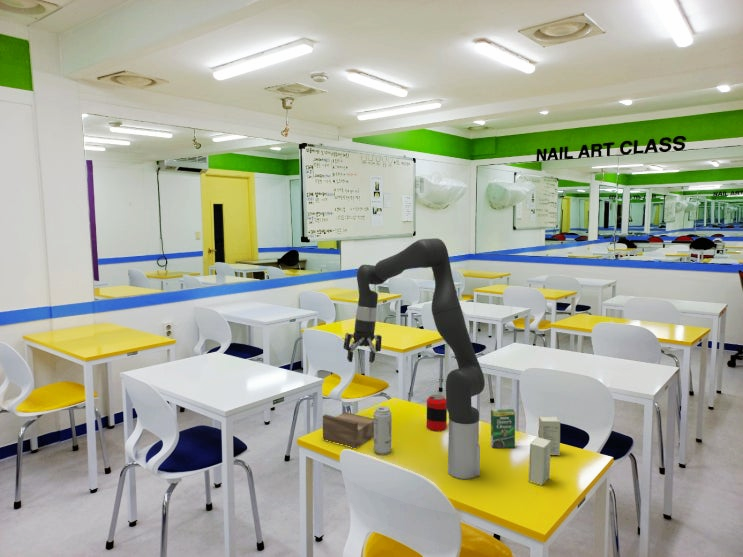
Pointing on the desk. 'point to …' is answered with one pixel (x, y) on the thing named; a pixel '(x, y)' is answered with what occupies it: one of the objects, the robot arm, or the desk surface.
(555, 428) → the skincare box
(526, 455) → the desk surface
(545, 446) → the skincare box
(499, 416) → the coffee box
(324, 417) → the walnut shelf block
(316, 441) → the desk surface
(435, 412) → the soda can
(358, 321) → the robot arm
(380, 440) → the energy drink can
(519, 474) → the desk surface
